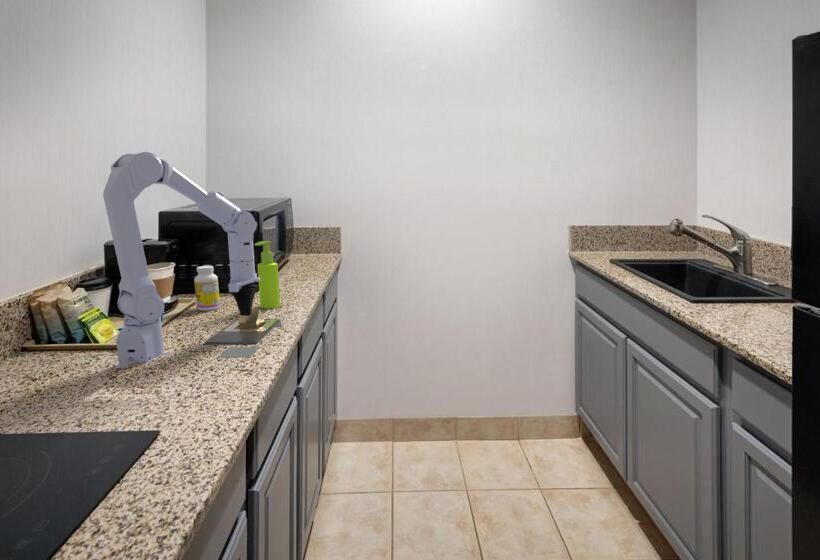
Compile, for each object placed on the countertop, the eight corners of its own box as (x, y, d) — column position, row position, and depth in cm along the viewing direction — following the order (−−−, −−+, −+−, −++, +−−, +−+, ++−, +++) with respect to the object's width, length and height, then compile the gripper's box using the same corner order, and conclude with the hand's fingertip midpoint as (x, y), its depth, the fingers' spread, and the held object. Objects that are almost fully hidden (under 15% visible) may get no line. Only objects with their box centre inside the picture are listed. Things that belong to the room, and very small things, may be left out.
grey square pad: (250, 364, 115) (249, 357, 115) (217, 364, 116) (216, 357, 115) (260, 353, 122) (260, 347, 122) (229, 353, 123) (229, 347, 122)
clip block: (256, 322, 135) (259, 308, 138) (238, 322, 136) (242, 308, 139) (260, 333, 139) (264, 319, 142) (243, 333, 139) (247, 319, 142)
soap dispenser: (253, 308, 166) (249, 242, 162) (269, 303, 172) (265, 239, 168) (268, 310, 163) (264, 243, 159) (284, 305, 169) (280, 240, 165)
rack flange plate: (257, 350, 125) (256, 341, 124) (205, 350, 125) (204, 342, 125) (281, 326, 144) (280, 319, 144) (236, 326, 145) (235, 319, 145)
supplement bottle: (196, 307, 168) (192, 266, 166) (218, 305, 171) (215, 264, 168) (197, 312, 162) (193, 269, 160) (221, 309, 165) (217, 267, 162)
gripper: (248, 264, 125) (252, 322, 128) (267, 256, 140) (270, 308, 142) (218, 265, 126) (222, 322, 128) (239, 256, 140) (243, 308, 142)
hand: (245, 315), depth 135 cm, fingers closed
